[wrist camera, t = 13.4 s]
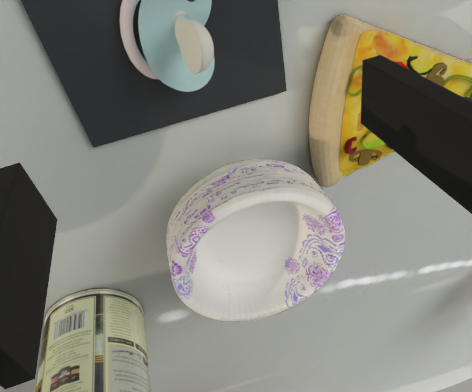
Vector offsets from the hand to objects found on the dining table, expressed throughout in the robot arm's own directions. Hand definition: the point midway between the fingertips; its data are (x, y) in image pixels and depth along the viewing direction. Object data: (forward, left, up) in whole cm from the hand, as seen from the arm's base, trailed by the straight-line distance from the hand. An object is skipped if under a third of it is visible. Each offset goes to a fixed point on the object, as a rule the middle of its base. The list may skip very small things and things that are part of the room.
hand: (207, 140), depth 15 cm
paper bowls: (+2, -18, -16) cm, 24 cm away
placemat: (0, 0, -16) cm, 16 cm away
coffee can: (-16, -27, -16) cm, 34 cm away
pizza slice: (+20, -11, -16) cm, 28 cm away
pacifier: (0, 0, -15) cm, 15 cm away
